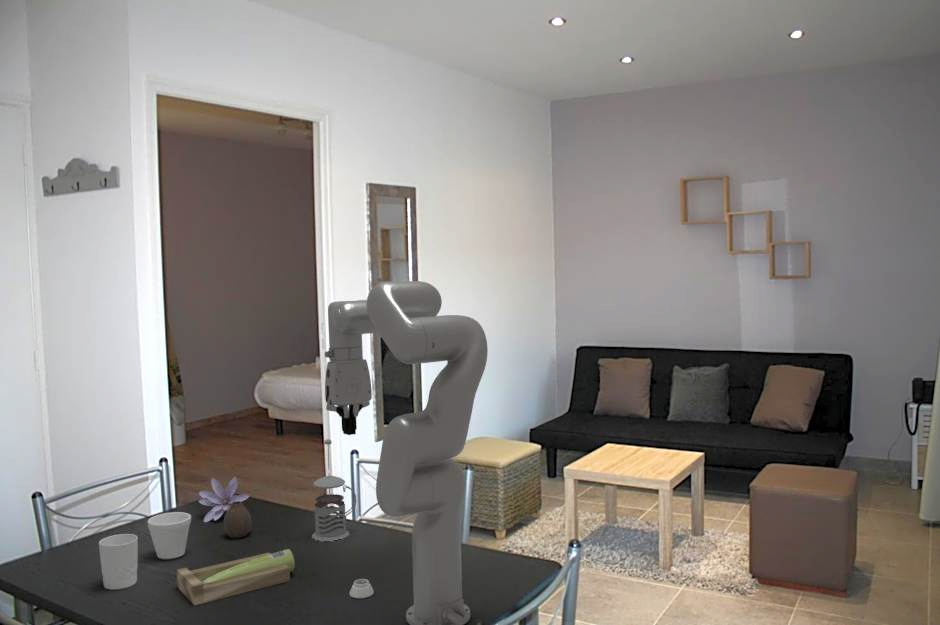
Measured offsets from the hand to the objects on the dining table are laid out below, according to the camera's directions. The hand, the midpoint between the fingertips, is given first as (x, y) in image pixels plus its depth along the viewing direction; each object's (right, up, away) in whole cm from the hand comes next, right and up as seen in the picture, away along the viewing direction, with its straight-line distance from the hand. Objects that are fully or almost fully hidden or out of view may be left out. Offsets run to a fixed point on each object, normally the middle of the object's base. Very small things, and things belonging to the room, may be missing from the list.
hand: (349, 433), depth 190 cm
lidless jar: (+5, -32, -16) cm, 36 cm away
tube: (-13, -28, -3) cm, 31 cm away
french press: (-7, -30, +22) cm, 38 cm away
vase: (-32, -30, +23) cm, 49 cm away
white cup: (-49, -32, -8) cm, 60 cm away
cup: (-44, -31, +9) cm, 55 cm away
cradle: (-23, -32, -9) cm, 40 cm away
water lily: (-41, -29, +38) cm, 63 cm away
